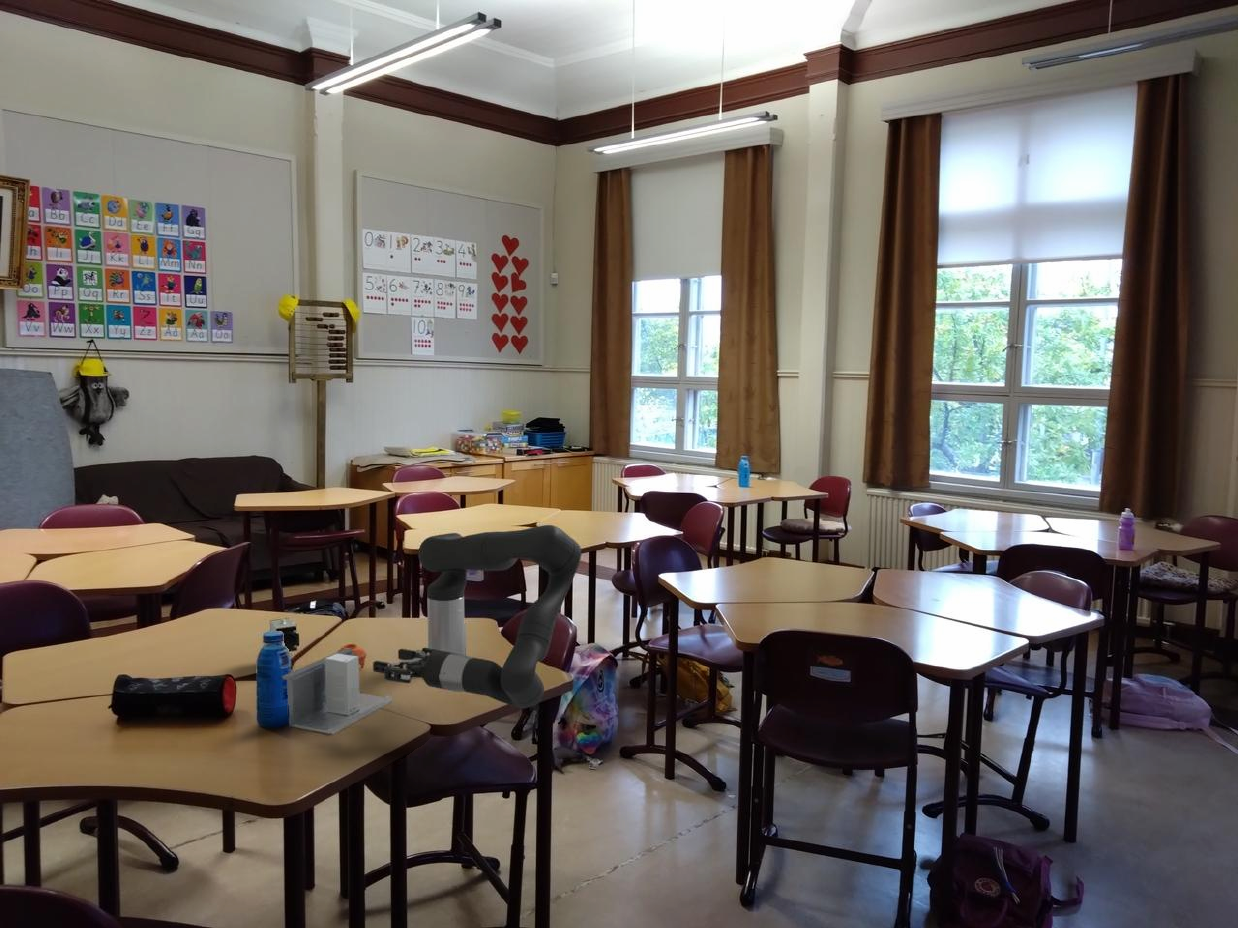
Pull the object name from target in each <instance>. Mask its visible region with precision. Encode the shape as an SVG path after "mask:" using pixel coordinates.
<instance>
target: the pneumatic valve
mask: <svg viewBox="0 0 1238 928" xmlns="http://www.w3.org/2000/svg"><path fill="white" fill-rule="evenodd" d="M297 626H298V623H297V622H296V621H292V620H291V618H289V617H285V618H279V619H278V618H276V619H271V620H269V632H270V631H282V632H283V633H284V643H285V646H286V647H287V648H288V649H289V652H290V654H291V657H293V653H292V652H296V651H298V647H300V633H299V632H298V631H297Z"/></svg>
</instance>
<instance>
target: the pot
mask: <svg viewBox="0 0 1238 928" xmlns="http://www.w3.org/2000/svg"><path fill="white" fill-rule="evenodd" d="M343 649H350V650H352V652H353V653H355V656H358V663H359V665H360V668H362V669H363V668H364V667H365V663H366V662H365V659H366V658H367V656H368V655H367V652H366V650H364V649H363V648H362V647H360V646H359V645H357V644H355V643H350V644H345V645H343V646H341V648H340V649H338V650H337V652H339V651H341V650H343Z"/></svg>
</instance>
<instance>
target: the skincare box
mask: <svg viewBox="0 0 1238 928" xmlns="http://www.w3.org/2000/svg"><path fill="white" fill-rule="evenodd" d="M331 655H332V654H331ZM329 656H330V655H329ZM326 657H327V656H326ZM324 658H325V657H324ZM359 671H360V667H359V663H358V656H350V655H344V654H335V655H332V656H330V657H327V658H325V684H326V711H327V712H331V713H337V714H342V715H350V714H352V713H353V712H355V711H357V710H359V709H360V695H359V693H360V672H359Z"/></svg>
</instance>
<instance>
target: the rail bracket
mask: <svg viewBox="0 0 1238 928" xmlns="http://www.w3.org/2000/svg"><path fill="white" fill-rule="evenodd" d="M338 651H339V650H338ZM338 651H336V652H333V653H332V654H330V655H328V656H325V657H323V658H321V659H318V660H317V661H313V662H311V663H309V664H307V665H305V666H302V667H300V668H298V669H296V670H294V671H290V672H289V673H286V674H284V675H282V676H281V677H282V678H283V679H282V678H281V679H282V680H286V693H287V694H286V695H288V699H287V706H288V705H289V714H290V722H289V723H290V726H289V727H292V728H298V729H302V730H307V731H312V732H317V733H323V734H327V735H334V734H336V733H338V732H339V731H341V730H343V729H345V728H347V727H348V726H350V725H352V724H354V723H356V722H357V721H359V720H362V719H363V718H365V717H366V716H368V715H370V714H372V713H374V712H375V711H377V710H379V709H381V708H382V707H385V706H386V705H388V704H389V703H391V702H392V697H393V696H392V695H386V696H385V697H383V696H378V695H372V694H368V693H361V692H359V695H360V709H359V710H357V711H355V712H353V713H352V714H350V715H342V714H337V713H331V712H327V711H326V684H325V658H327V657H330V656H332V655H335V654H344V655H350V656H355V653H353V652H352V650H350V649H343V650H341V651H339V652H338ZM373 711H374V712H373Z"/></svg>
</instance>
